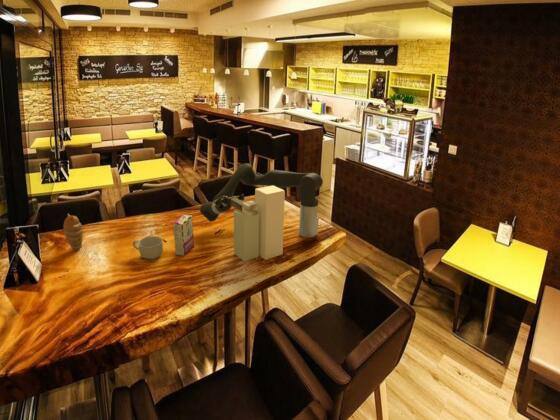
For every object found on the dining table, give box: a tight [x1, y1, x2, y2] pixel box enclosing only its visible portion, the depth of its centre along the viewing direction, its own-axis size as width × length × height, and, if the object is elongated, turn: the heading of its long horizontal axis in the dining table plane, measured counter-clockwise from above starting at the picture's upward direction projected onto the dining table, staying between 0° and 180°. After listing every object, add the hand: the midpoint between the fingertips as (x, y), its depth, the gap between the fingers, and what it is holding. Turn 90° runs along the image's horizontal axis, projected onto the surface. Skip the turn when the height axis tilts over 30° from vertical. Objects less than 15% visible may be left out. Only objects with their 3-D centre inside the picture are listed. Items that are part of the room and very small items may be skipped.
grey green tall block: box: [233, 209, 260, 262], centre depth 178 cm, size 8×9×22 cm
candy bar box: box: [172, 214, 195, 257], centre depth 182 cm, size 11×5×16 cm, turn 168°
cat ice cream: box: [62, 213, 84, 251], centre depth 179 cm, size 9×8×18 cm
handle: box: [231, 198, 258, 217], centre depth 176 cm, size 5×17×5 cm, turn 37°
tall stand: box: [254, 186, 286, 261], centre depth 179 cm, size 10×9×32 cm
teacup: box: [132, 235, 164, 260], centre depth 177 cm, size 14×11×8 cm
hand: (235, 197), depth 179 cm, fingers open, 8 cm apart
